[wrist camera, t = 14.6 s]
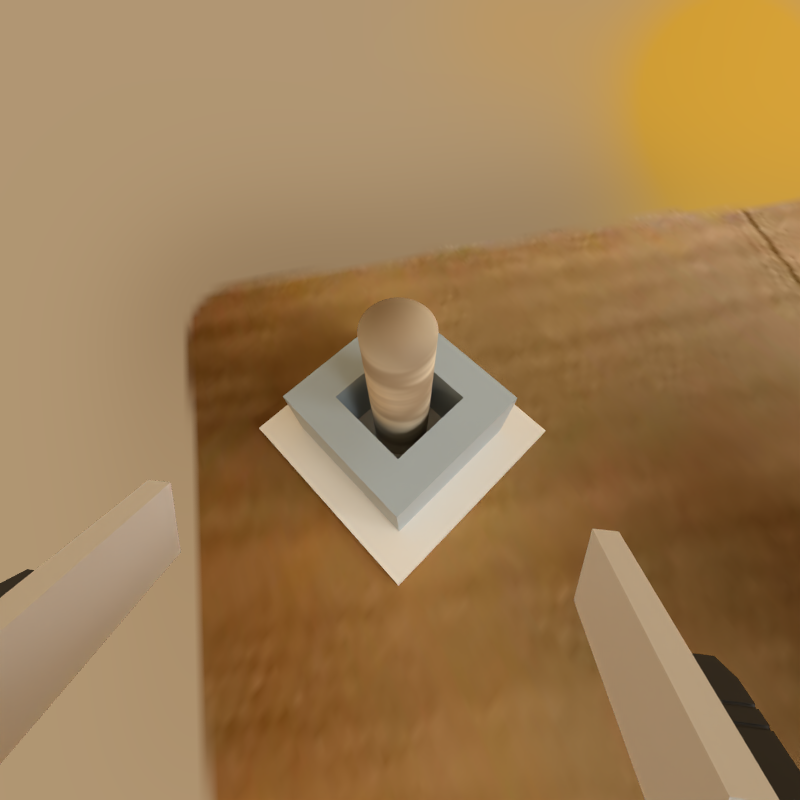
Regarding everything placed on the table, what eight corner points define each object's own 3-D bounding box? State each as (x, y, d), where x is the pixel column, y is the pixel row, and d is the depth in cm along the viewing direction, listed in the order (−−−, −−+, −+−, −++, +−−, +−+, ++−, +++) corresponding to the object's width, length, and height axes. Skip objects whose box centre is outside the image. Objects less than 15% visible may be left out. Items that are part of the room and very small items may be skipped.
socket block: (403, 318, 40) (402, 264, 33) (541, 435, 35) (571, 398, 28) (263, 433, 35) (230, 396, 29) (398, 585, 30) (395, 582, 24)
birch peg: (401, 397, 35) (398, 284, 22) (437, 430, 34) (455, 330, 21) (365, 429, 34) (340, 330, 21) (400, 464, 33) (396, 381, 20)
